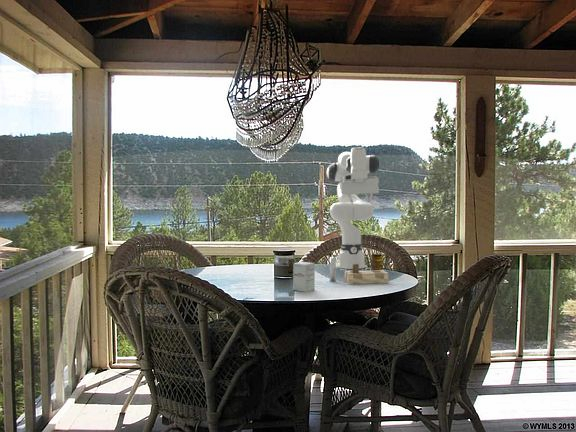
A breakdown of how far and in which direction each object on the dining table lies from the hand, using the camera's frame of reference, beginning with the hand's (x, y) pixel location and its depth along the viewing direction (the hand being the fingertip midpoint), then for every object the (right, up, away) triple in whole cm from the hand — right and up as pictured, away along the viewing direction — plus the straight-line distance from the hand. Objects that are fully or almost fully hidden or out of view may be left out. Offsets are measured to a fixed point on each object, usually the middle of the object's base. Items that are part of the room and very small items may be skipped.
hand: (360, 202), depth 294 cm
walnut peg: (-5, -40, -21) cm, 46 cm away
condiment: (+7, -40, -4) cm, 41 cm away
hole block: (0, -40, -21) cm, 45 cm away
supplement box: (-32, -42, -42) cm, 67 cm away
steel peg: (-16, -40, -18) cm, 47 cm away
